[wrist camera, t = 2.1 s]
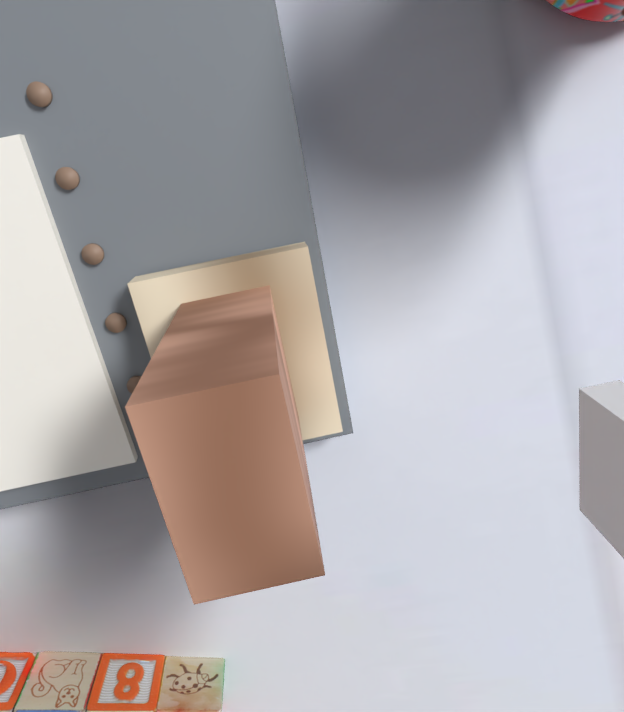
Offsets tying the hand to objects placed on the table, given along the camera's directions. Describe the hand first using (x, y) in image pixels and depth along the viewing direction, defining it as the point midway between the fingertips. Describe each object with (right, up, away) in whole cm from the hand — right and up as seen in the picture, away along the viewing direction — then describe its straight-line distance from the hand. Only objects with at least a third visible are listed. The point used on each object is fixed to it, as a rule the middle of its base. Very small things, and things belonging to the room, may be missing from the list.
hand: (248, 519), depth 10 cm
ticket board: (-7, +7, +10) cm, 13 cm away
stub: (-1, +3, +10) cm, 10 cm away
